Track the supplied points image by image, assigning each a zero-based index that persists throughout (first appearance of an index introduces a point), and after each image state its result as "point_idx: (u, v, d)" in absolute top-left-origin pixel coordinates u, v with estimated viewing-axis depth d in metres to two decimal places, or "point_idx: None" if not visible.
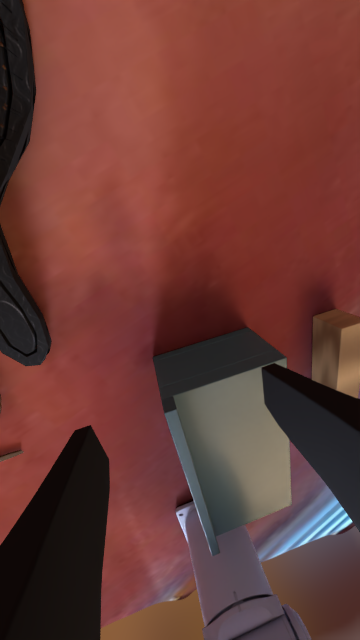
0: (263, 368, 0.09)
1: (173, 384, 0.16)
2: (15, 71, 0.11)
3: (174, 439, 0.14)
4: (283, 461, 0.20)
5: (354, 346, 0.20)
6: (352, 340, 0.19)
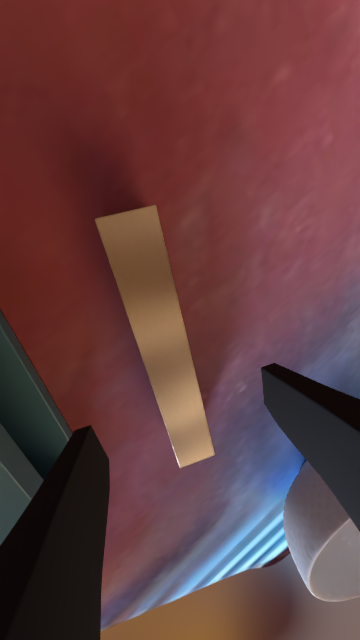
0: (263, 368, 0.09)
1: None
2: None
3: None
4: (1, 489, 0.10)
5: (145, 264, 0.10)
6: (134, 249, 0.10)
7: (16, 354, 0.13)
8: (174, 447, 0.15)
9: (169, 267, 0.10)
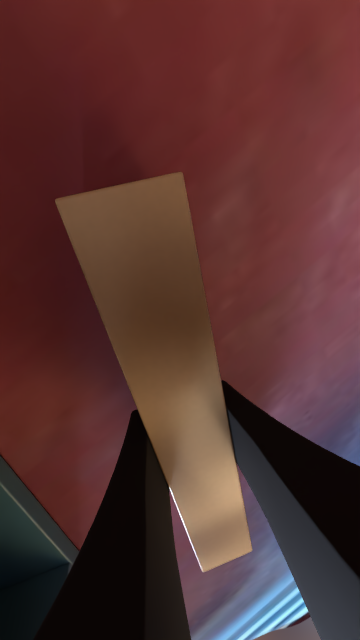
0: None
1: None
2: None
3: None
4: None
5: (158, 289, 0.05)
6: (139, 261, 0.05)
7: None
8: (196, 550, 0.10)
9: (203, 294, 0.06)
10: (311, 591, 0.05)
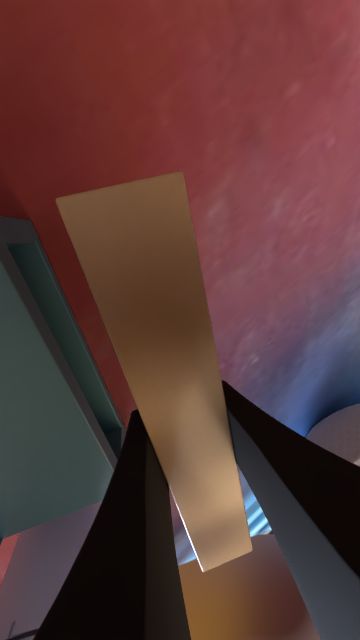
0: None
1: None
2: None
3: None
4: (72, 422, 0.13)
5: (158, 289, 0.05)
6: (139, 261, 0.05)
7: (72, 322, 0.15)
8: (196, 550, 0.10)
9: (203, 293, 0.06)
10: (311, 591, 0.05)
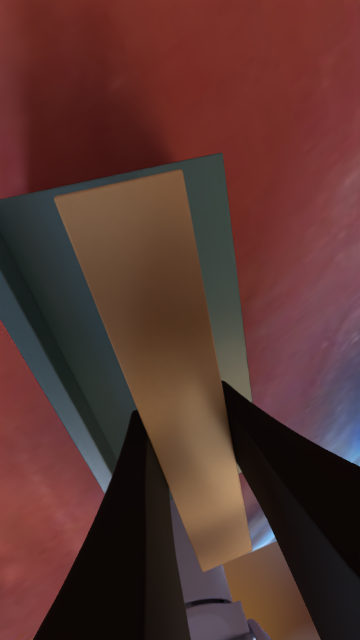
0: None
1: None
2: None
3: None
4: (238, 386, 0.12)
5: (158, 288, 0.05)
6: (138, 259, 0.05)
7: None
8: (196, 550, 0.10)
9: (203, 292, 0.06)
10: (311, 591, 0.05)
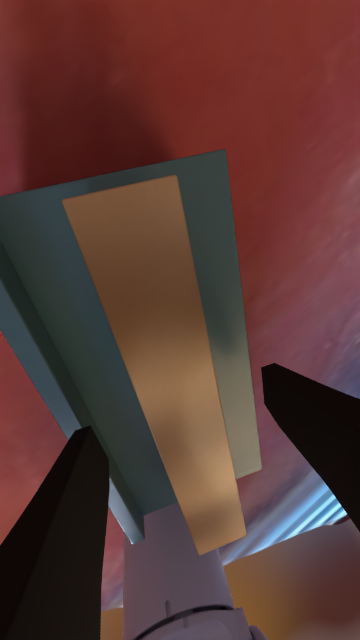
0: (263, 368, 0.09)
1: None
2: None
3: None
4: (241, 389, 0.12)
5: (155, 282, 0.06)
6: (137, 256, 0.06)
7: None
8: (192, 533, 0.10)
9: (196, 286, 0.06)
10: None
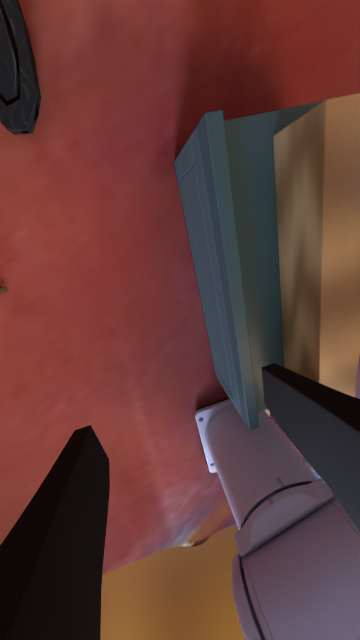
0: (263, 368, 0.09)
1: None
2: None
3: (215, 178, 0.10)
4: None
5: (357, 164, 0.09)
6: (353, 143, 0.09)
7: None
8: None
9: None
10: None
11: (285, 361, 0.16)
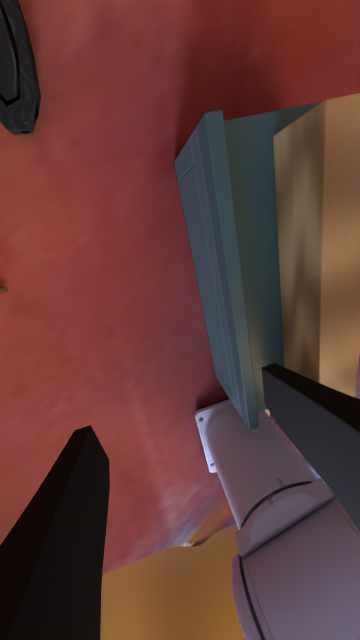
0: (263, 368, 0.09)
1: None
2: None
3: (215, 178, 0.10)
4: None
5: (357, 164, 0.09)
6: (353, 143, 0.09)
7: None
8: None
9: None
10: None
11: (285, 361, 0.16)
